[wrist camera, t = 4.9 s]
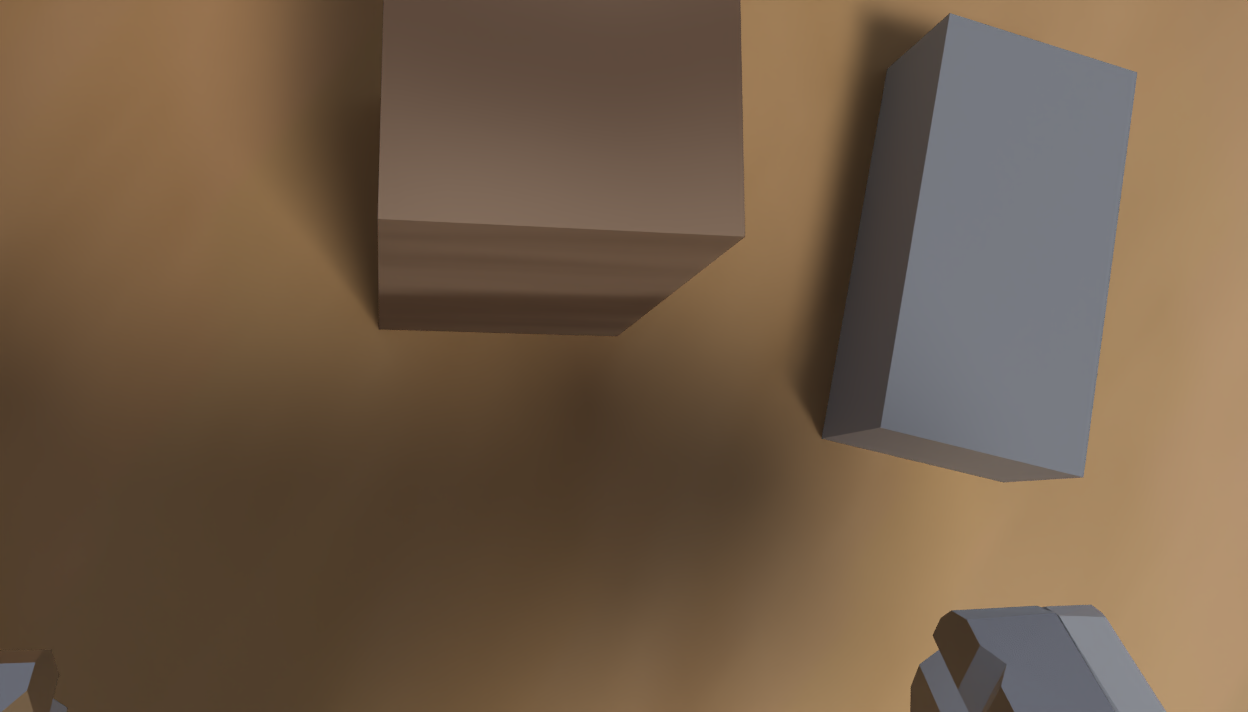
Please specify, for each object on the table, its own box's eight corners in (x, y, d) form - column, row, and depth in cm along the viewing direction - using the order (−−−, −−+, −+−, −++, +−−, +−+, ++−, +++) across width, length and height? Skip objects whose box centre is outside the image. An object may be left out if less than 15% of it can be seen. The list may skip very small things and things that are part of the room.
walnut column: (617, 336, 22) (744, 237, 14) (378, 329, 21) (377, 219, 13) (616, 112, 23) (737, -99, 15) (384, 96, 22) (387, -139, 14)
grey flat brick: (996, 482, 24) (1082, 477, 21) (816, 439, 23) (880, 427, 20) (1048, 124, 25) (1137, 72, 22) (881, 73, 24) (949, 13, 21)
